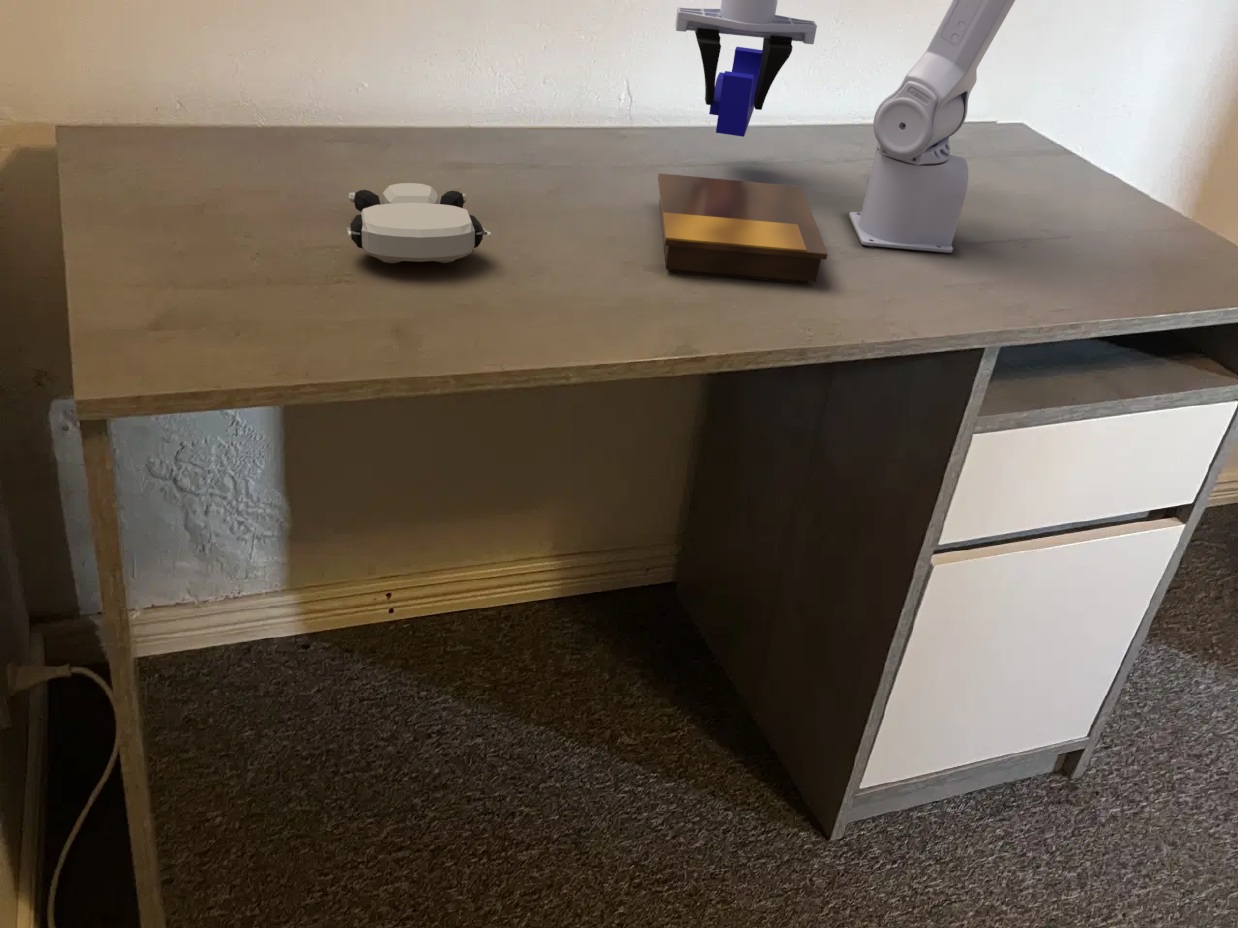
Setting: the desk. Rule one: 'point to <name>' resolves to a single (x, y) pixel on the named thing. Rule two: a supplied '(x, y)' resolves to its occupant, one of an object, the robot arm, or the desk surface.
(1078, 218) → the desk surface
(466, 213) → the robot toy
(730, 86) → the cable clip
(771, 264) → the walnut stand
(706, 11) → the robot arm
